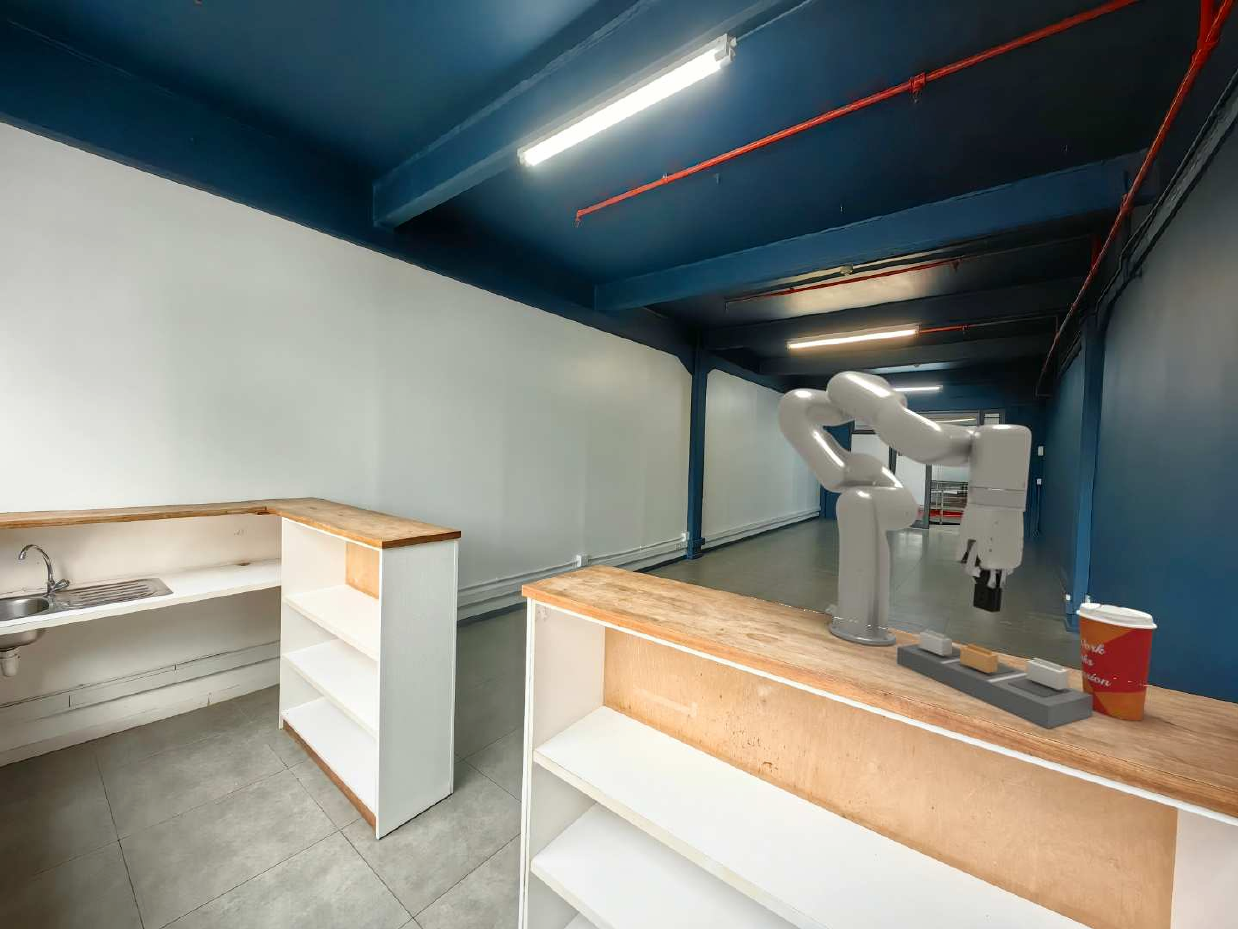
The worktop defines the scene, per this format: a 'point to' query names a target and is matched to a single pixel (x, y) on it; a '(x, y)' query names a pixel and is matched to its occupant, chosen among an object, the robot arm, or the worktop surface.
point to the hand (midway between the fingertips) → (986, 609)
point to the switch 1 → (935, 642)
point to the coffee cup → (1115, 658)
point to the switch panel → (1001, 687)
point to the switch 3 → (1047, 673)
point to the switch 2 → (979, 658)
